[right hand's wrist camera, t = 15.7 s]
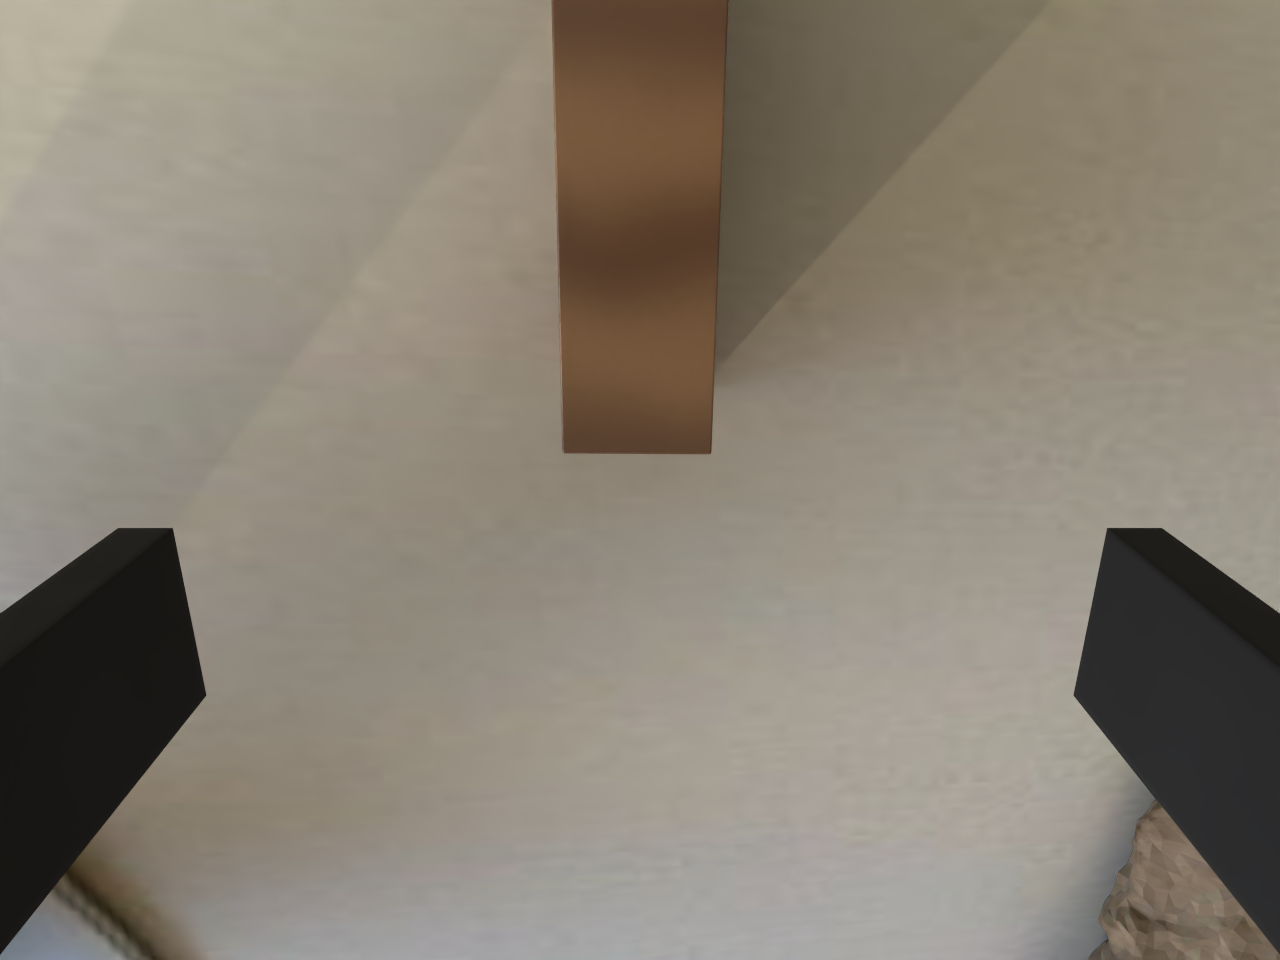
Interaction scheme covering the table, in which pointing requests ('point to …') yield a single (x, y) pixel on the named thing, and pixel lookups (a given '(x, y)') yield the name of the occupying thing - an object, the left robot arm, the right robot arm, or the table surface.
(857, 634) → the table surface
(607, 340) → the bar
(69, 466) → the table surface
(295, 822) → the table surface
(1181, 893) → the stone
